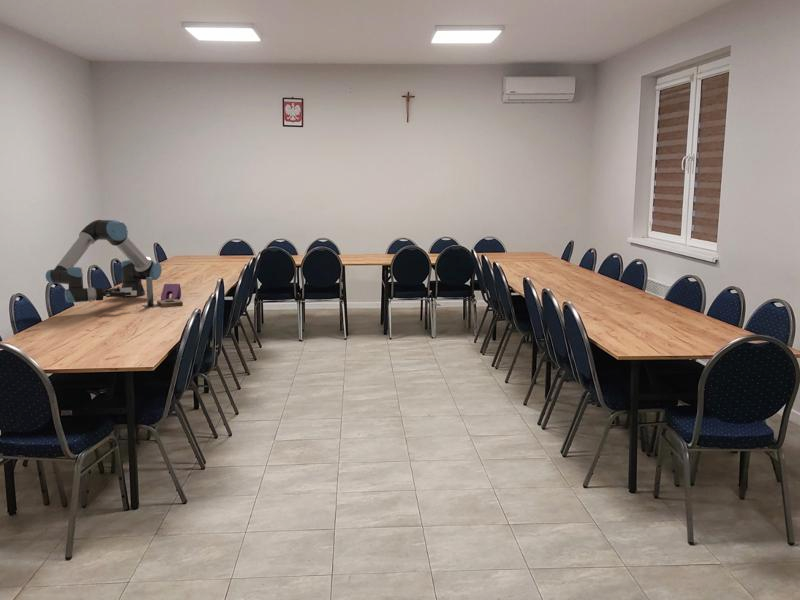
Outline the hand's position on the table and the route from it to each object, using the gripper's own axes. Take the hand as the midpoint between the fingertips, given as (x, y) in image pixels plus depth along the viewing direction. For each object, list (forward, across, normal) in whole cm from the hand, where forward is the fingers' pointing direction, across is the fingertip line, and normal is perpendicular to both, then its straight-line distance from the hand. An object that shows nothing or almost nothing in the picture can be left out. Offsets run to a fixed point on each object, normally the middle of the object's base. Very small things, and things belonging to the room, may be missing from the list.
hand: (134, 291), depth 422 cm
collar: (+20, +1, -10) cm, 22 cm away
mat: (+9, 0, -10) cm, 13 cm away
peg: (+9, 0, -10) cm, 13 cm away
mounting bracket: (+25, -17, -10) cm, 32 cm away
